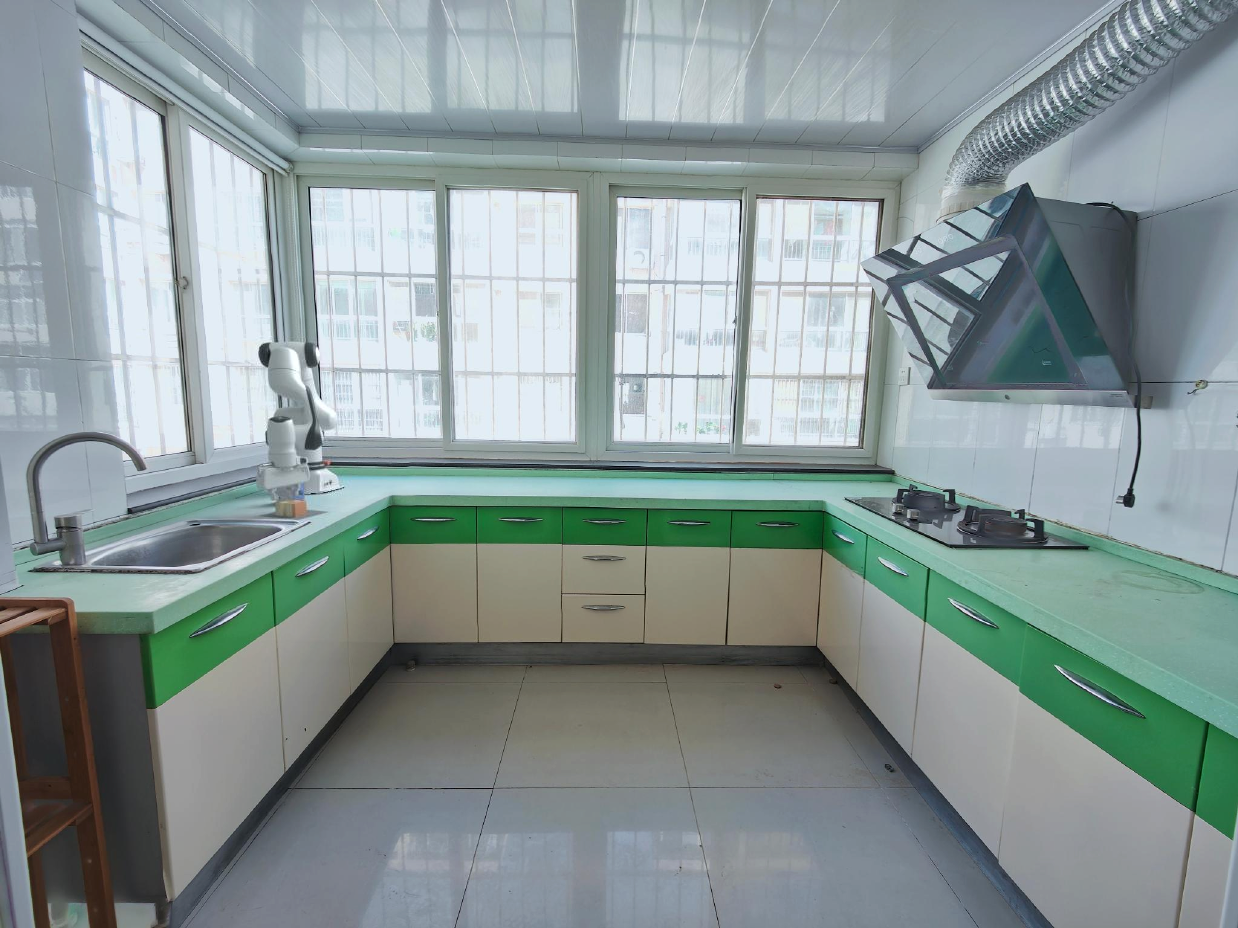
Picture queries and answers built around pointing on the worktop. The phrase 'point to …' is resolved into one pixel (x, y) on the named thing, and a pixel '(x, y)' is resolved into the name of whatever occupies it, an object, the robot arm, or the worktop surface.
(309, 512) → the rubber mat
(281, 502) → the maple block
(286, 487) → the ink cartridge box
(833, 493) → the worktop surface
